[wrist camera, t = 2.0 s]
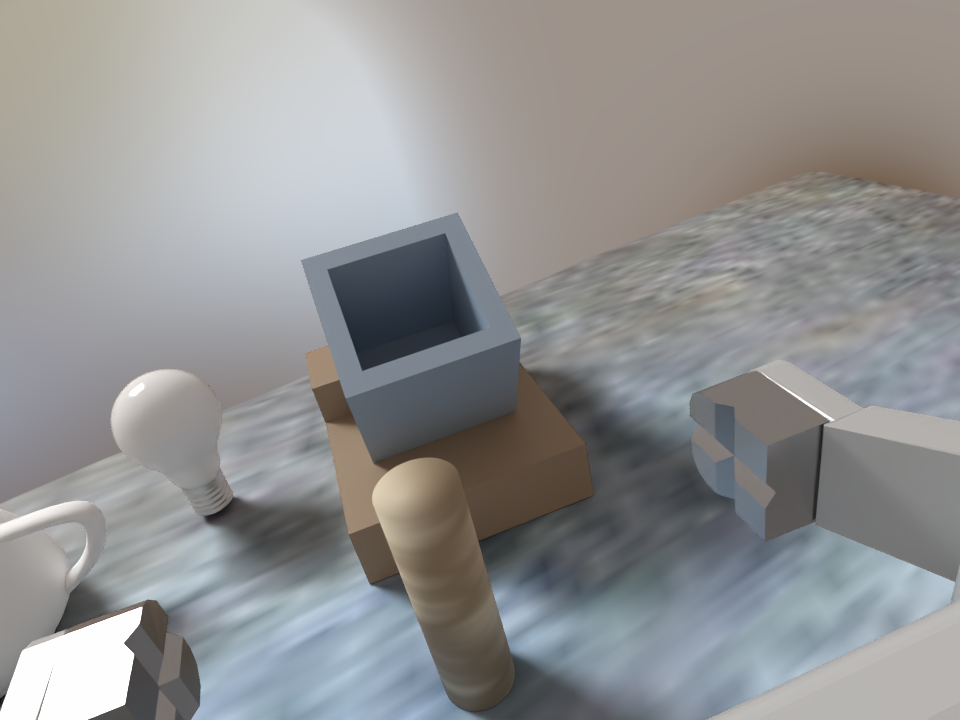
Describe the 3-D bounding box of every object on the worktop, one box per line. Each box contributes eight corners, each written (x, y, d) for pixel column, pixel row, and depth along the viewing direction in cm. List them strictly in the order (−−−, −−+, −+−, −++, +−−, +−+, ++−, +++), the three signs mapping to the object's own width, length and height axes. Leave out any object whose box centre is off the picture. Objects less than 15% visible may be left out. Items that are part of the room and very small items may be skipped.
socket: (369, 584, 37) (265, 339, 29) (334, 426, 51) (257, 233, 43) (593, 495, 39) (555, 245, 31) (499, 368, 54) (456, 175, 45)
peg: (455, 723, 29) (380, 533, 23) (436, 660, 32) (365, 476, 26) (525, 692, 30) (471, 499, 24) (500, 632, 32) (446, 446, 26)
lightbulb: (262, 522, 43) (192, 386, 38) (165, 556, 42) (78, 422, 37) (262, 466, 49) (201, 340, 43) (177, 495, 48) (102, 370, 42)
